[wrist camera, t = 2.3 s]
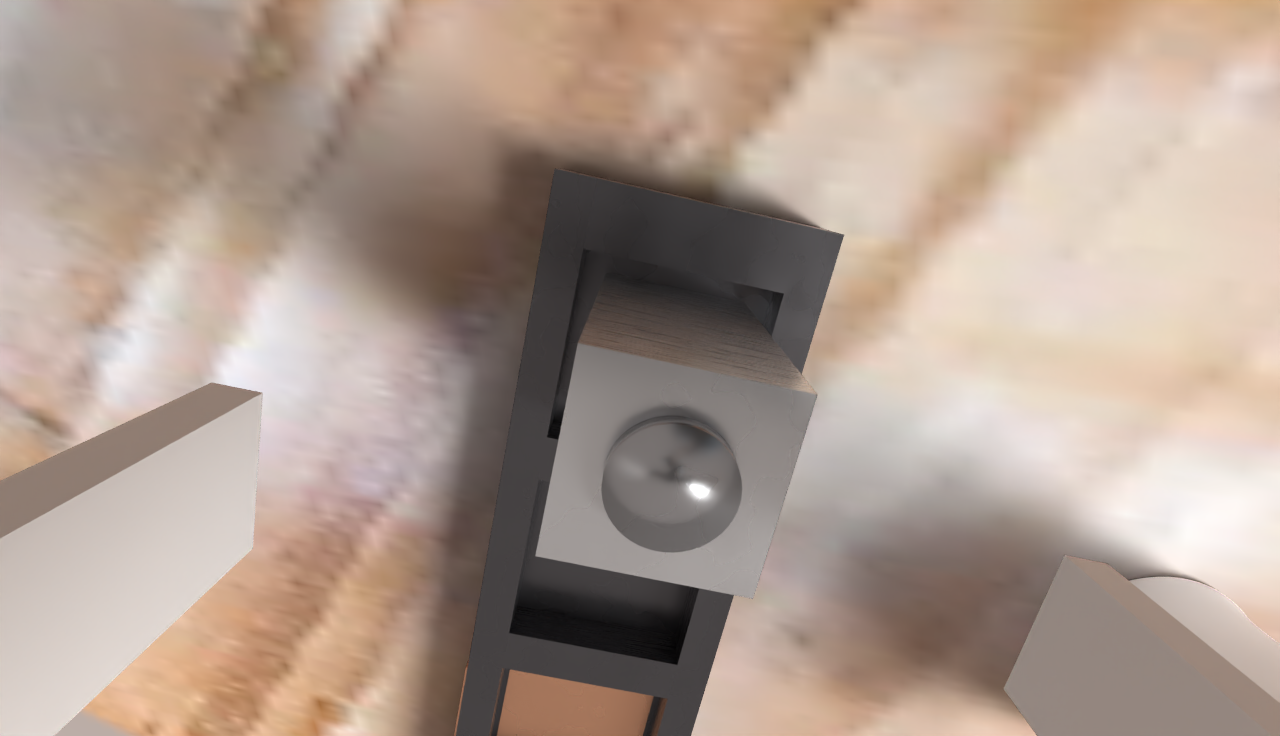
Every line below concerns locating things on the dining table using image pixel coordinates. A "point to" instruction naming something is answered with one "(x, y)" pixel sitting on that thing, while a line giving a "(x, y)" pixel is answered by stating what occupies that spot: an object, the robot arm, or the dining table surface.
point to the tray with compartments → (514, 577)
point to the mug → (1219, 627)
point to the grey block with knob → (674, 440)
